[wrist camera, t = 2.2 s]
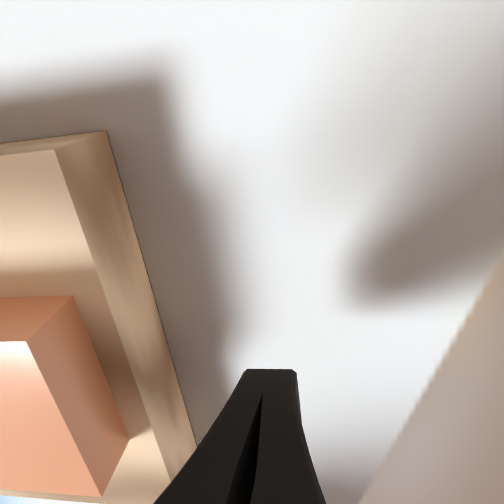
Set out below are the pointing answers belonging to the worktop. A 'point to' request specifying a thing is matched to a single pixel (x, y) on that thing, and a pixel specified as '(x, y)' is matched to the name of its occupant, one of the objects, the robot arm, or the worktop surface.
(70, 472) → the tile
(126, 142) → the worktop surface
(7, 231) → the wooden board
